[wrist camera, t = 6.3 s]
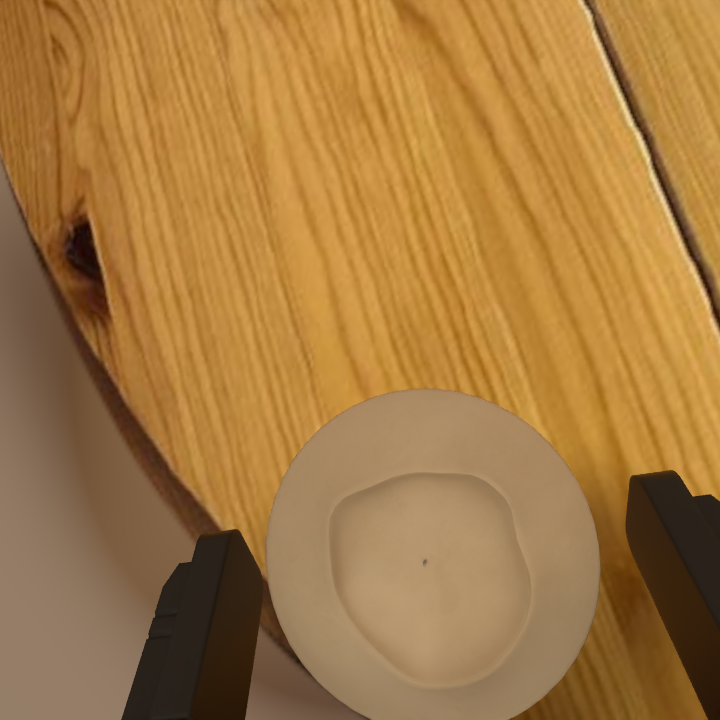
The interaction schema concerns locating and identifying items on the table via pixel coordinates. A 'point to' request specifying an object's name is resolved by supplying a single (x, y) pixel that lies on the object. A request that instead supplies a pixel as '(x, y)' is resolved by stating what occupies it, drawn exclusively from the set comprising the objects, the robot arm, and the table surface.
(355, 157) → the table surface
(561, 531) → the candle
